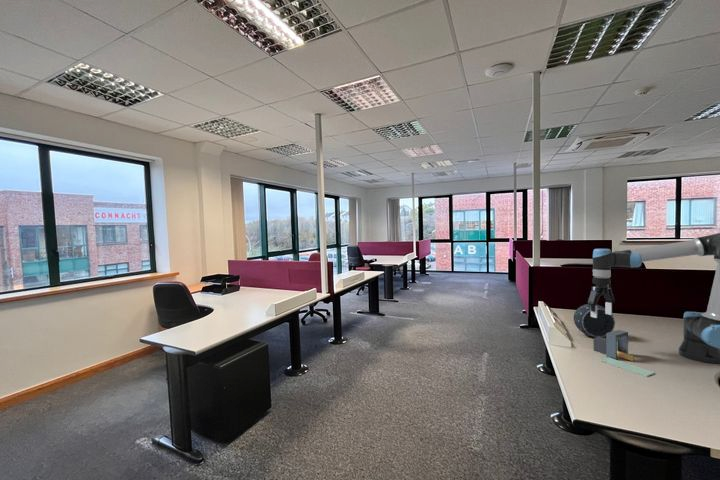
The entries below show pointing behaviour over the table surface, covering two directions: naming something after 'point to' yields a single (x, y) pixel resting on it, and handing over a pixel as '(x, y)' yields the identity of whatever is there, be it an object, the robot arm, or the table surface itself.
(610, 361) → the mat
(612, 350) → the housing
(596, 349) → the grey hammer
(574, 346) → the table surface
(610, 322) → the dark grey short cylinder
